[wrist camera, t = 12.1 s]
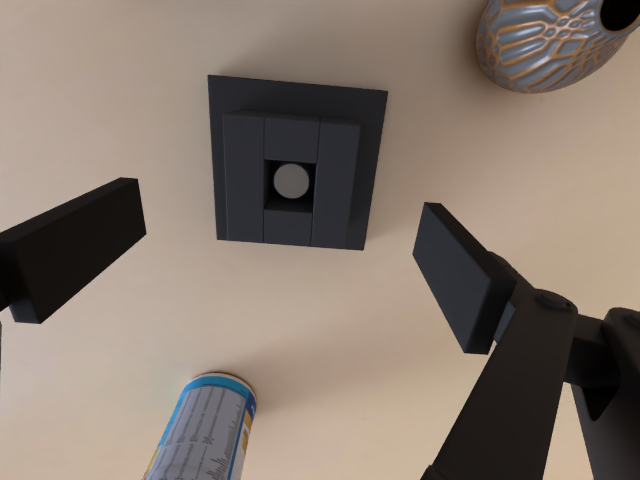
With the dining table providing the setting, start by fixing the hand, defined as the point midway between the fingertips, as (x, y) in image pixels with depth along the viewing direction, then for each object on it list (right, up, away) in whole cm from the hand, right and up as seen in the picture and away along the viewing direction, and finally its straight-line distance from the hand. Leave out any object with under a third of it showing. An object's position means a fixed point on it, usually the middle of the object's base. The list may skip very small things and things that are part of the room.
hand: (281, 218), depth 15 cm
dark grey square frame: (0, +4, +9) cm, 10 cm away
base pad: (0, +5, +10) cm, 11 cm away
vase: (+15, +13, +7) cm, 20 cm away
